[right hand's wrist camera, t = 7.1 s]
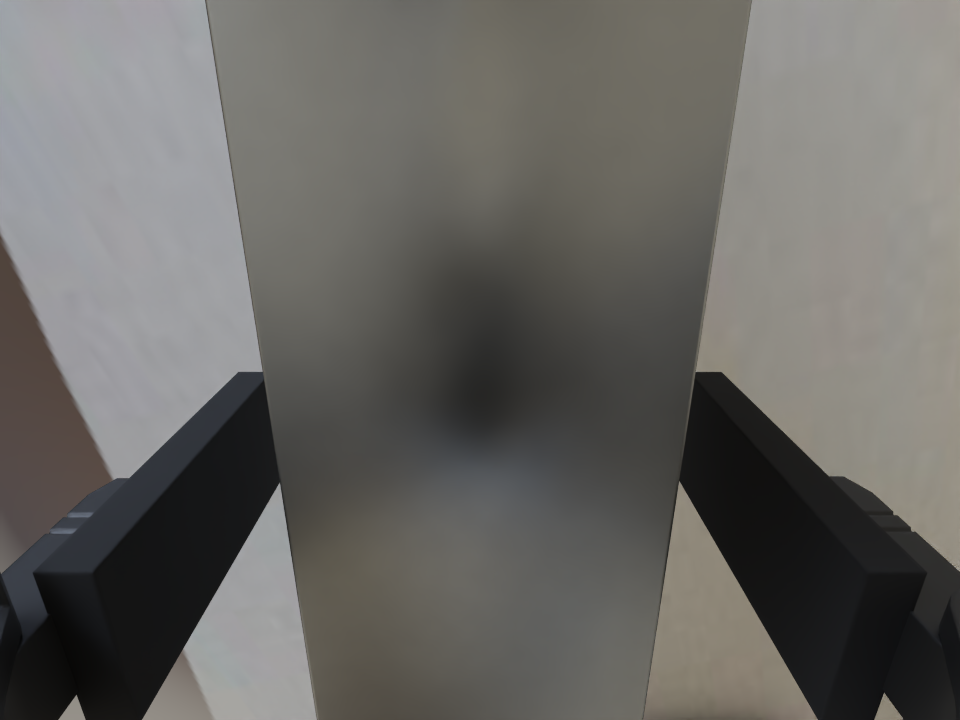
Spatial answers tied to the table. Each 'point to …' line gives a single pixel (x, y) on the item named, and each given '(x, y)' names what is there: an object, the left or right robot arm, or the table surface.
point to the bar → (479, 329)
